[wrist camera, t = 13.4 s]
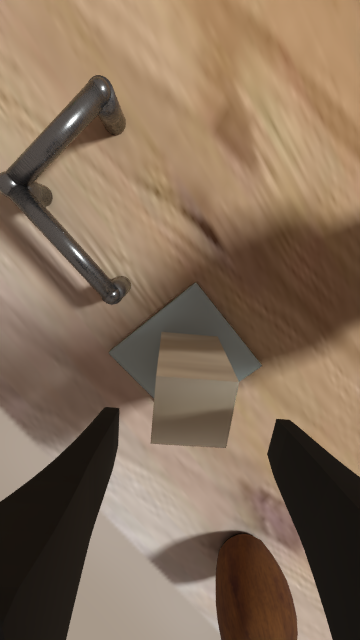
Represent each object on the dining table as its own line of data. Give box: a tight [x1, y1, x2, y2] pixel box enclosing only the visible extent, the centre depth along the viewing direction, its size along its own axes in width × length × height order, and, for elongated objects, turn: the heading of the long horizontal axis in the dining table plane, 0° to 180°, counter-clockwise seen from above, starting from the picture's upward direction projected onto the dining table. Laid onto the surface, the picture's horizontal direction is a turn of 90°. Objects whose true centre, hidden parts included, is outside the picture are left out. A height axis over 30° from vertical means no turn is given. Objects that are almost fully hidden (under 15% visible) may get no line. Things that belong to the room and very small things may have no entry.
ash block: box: [151, 332, 239, 448], centre depth 15 cm, size 4×4×6 cm
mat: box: [109, 282, 262, 398], centre depth 18 cm, size 8×8×1 cm
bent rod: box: [0, 75, 131, 304], centre depth 14 cm, size 7×8×4 cm
